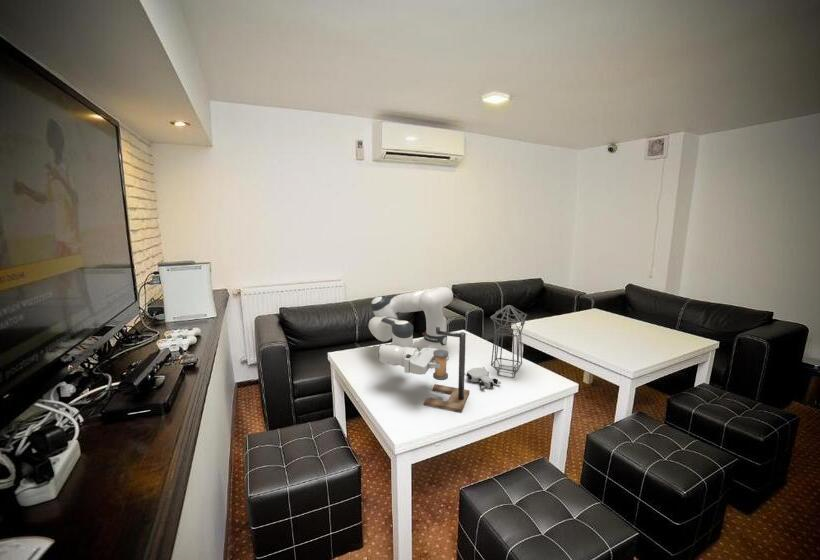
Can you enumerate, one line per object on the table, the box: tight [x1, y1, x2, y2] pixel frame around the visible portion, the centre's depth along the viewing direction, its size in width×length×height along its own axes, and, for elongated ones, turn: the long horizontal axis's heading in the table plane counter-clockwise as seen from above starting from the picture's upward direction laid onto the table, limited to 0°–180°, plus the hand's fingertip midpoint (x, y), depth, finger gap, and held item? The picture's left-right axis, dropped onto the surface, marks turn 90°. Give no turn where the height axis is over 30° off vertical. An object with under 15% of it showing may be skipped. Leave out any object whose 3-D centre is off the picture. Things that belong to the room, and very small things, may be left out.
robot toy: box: [465, 366, 502, 390], centre depth 157 cm, size 12×4×15 cm
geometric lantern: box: [489, 304, 528, 379], centre depth 164 cm, size 16×16×35 cm
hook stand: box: [436, 327, 467, 400], centre depth 140 cm, size 12×2×30 cm, turn 69°
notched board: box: [423, 383, 470, 414], centre depth 144 cm, size 16×16×2 cm
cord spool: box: [432, 350, 449, 381], centre depth 142 cm, size 6×6×11 cm
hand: (442, 362), depth 141 cm, fingers closed on cord spool, 5 cm apart
